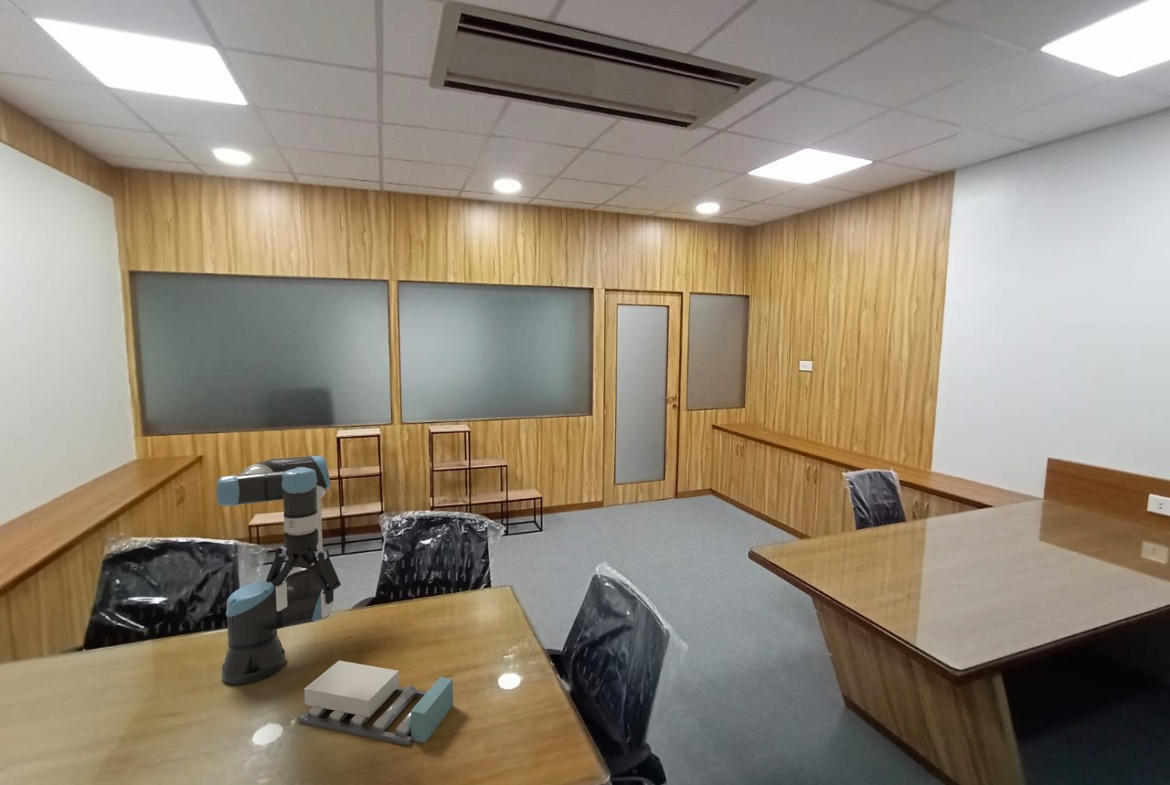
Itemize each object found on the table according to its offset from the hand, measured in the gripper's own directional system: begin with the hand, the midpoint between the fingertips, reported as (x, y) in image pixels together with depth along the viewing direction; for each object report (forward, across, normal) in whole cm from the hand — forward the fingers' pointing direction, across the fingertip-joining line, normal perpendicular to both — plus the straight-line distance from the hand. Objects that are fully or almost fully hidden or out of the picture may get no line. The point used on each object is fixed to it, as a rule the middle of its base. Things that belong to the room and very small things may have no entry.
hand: (304, 612), depth 132 cm
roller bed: (+22, +20, -1) cm, 30 cm away
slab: (+19, +14, -1) cm, 24 cm away
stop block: (+22, +37, -1) cm, 43 cm away
